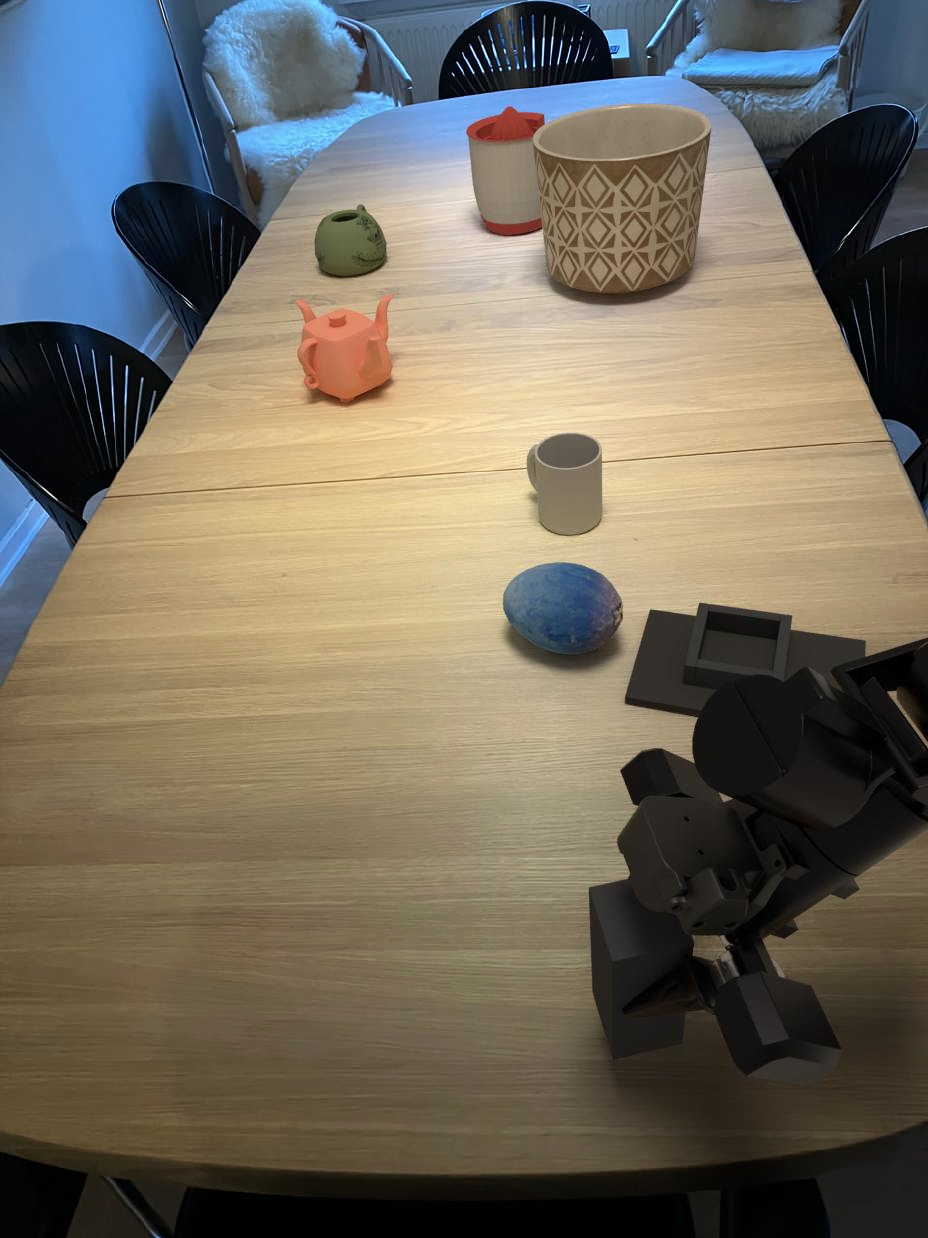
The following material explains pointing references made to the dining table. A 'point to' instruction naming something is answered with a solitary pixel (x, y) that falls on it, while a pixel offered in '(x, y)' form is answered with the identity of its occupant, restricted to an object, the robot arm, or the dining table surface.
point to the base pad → (724, 654)
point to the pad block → (633, 966)
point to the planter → (621, 194)
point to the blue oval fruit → (563, 607)
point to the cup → (567, 482)
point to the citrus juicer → (506, 171)
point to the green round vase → (349, 242)
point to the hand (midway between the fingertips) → (615, 974)
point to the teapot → (345, 350)
